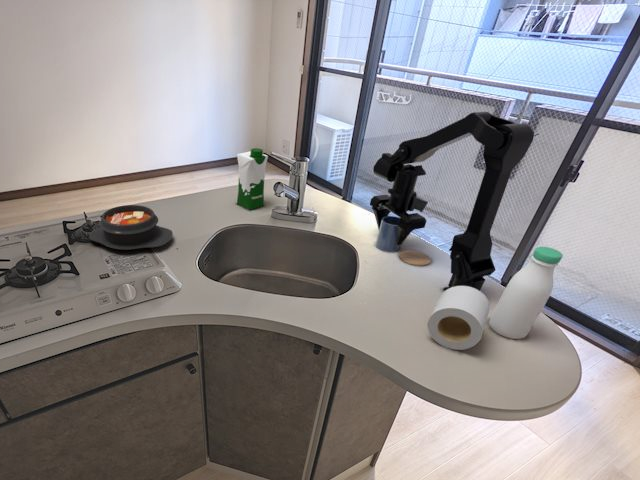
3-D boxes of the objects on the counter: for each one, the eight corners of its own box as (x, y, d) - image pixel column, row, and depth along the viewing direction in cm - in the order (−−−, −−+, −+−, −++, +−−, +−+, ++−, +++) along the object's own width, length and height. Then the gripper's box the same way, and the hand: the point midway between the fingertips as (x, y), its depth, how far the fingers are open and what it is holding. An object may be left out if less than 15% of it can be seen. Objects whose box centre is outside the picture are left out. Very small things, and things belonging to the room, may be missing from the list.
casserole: (78, 250, 114) (71, 223, 109) (106, 223, 128) (101, 199, 124) (161, 259, 111) (158, 232, 106) (180, 230, 126) (178, 205, 121)
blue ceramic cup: (384, 253, 117) (391, 227, 112) (371, 242, 122) (377, 217, 117) (409, 249, 119) (417, 223, 114) (395, 239, 124) (403, 214, 119)
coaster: (436, 263, 113) (437, 262, 112) (411, 267, 110) (412, 266, 110) (417, 249, 119) (417, 248, 119) (393, 253, 117) (393, 252, 117)
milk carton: (249, 211, 139) (251, 153, 127) (233, 203, 145) (233, 147, 133) (267, 206, 144) (271, 149, 132) (251, 198, 149) (253, 143, 137)
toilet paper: (432, 315, 93) (447, 279, 87) (479, 331, 88) (497, 295, 82) (421, 337, 86) (436, 301, 80) (471, 357, 82) (490, 319, 76)
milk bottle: (524, 345, 85) (572, 265, 73) (485, 330, 89) (524, 252, 77) (528, 327, 90) (574, 249, 78) (491, 314, 94) (529, 238, 82)
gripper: (451, 196, 104) (432, 248, 114) (406, 174, 119) (393, 222, 128) (416, 200, 101) (400, 254, 111) (374, 177, 116) (363, 226, 125)
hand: (389, 237), depth 119 cm, fingers open, 9 cm apart
